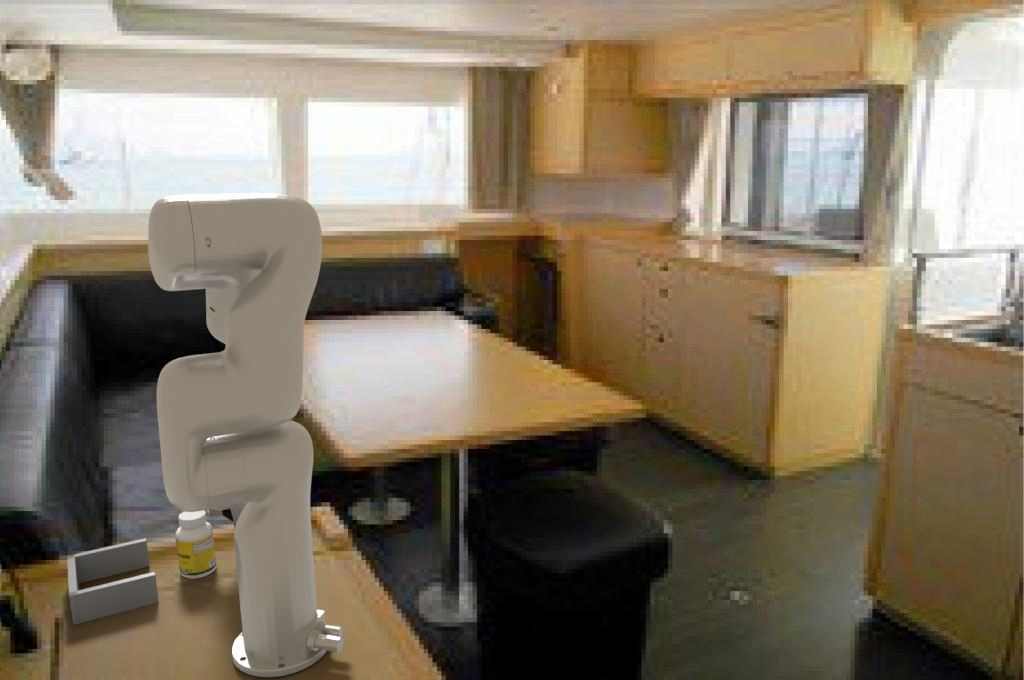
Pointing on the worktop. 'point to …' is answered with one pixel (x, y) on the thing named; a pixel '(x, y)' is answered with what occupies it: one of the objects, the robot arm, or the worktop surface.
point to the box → (112, 594)
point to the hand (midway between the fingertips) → (246, 541)
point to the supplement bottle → (195, 545)
